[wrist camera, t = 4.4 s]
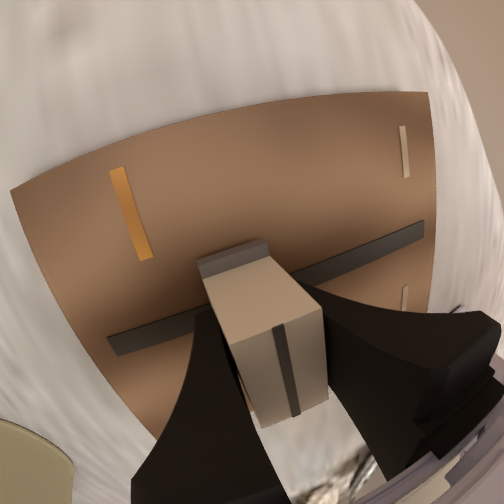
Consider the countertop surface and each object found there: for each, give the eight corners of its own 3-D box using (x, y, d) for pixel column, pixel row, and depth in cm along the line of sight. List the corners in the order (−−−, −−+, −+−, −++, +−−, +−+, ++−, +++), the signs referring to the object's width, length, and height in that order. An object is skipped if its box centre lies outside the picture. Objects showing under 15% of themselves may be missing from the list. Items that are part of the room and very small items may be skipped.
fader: (284, 342, 12) (329, 407, 9) (232, 362, 12) (265, 436, 8) (261, 238, 10) (321, 291, 7) (195, 260, 10) (223, 329, 6)
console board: (406, 306, 19) (426, 321, 17) (153, 414, 15) (157, 441, 13) (400, 93, 13) (429, 92, 11) (30, 182, 9) (8, 191, 7)
